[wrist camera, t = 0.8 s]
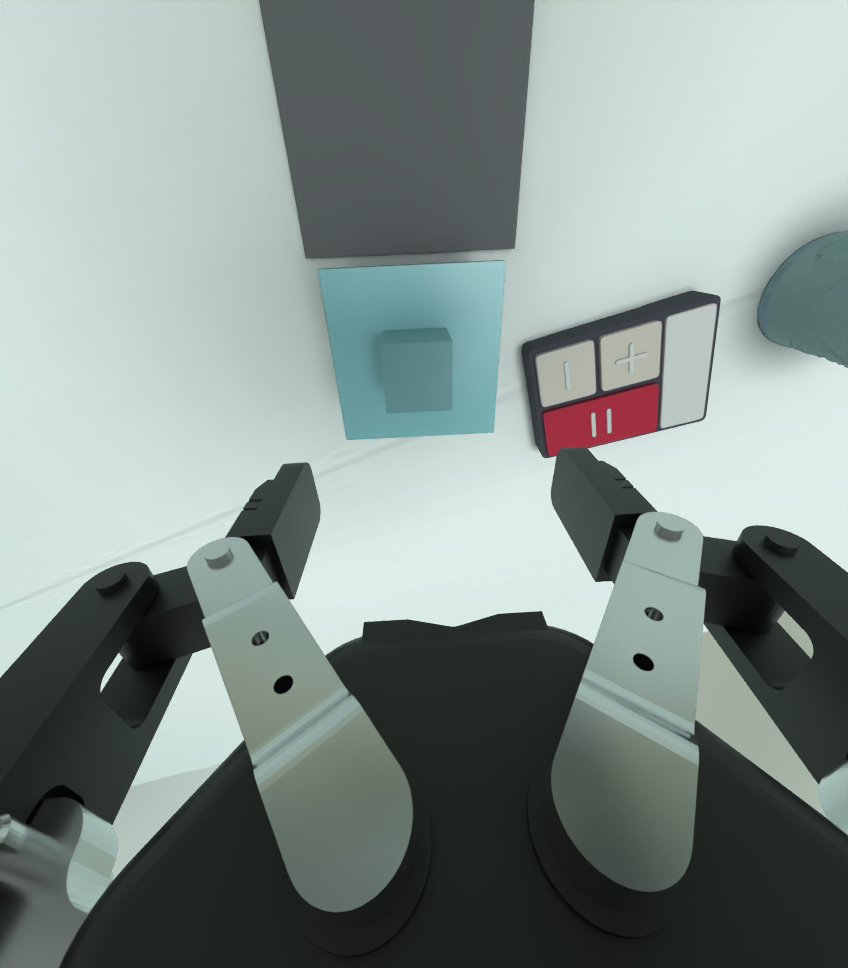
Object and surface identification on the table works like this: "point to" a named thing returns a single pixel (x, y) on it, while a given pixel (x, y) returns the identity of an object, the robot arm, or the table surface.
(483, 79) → the mat
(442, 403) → the lid
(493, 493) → the table surface
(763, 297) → the grey cup
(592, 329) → the calculator
